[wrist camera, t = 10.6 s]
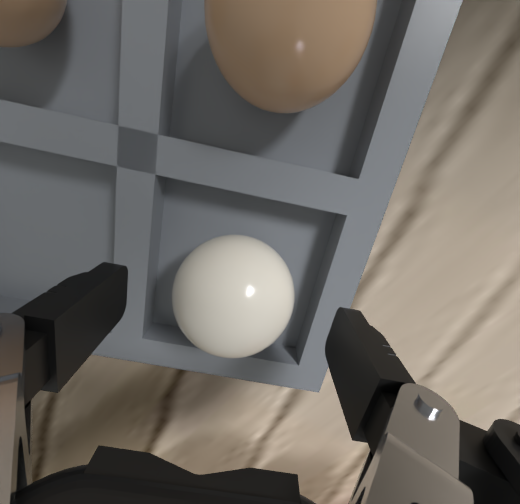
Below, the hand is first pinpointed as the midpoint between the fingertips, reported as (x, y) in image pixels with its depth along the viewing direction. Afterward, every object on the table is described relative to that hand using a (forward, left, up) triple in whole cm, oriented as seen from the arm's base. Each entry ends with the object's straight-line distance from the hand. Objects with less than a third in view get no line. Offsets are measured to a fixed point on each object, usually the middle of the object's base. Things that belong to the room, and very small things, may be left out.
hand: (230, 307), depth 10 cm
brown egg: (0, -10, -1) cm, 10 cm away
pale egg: (0, 0, -1) cm, 1 cm away
